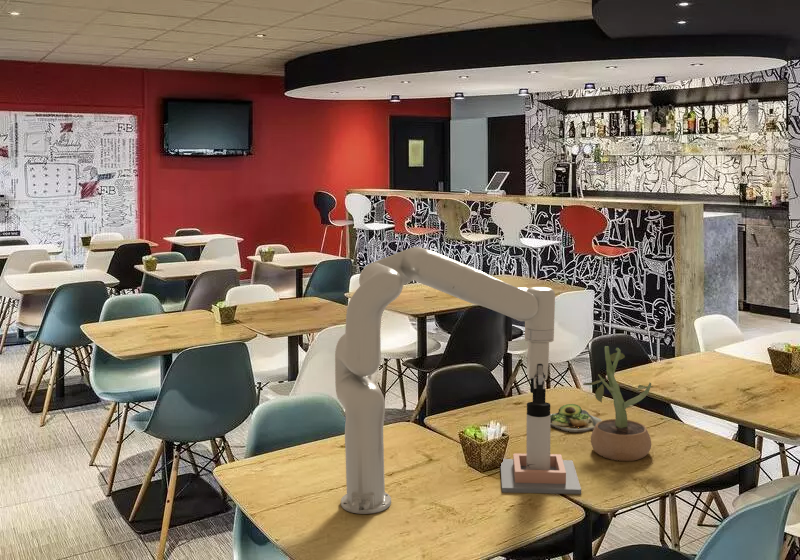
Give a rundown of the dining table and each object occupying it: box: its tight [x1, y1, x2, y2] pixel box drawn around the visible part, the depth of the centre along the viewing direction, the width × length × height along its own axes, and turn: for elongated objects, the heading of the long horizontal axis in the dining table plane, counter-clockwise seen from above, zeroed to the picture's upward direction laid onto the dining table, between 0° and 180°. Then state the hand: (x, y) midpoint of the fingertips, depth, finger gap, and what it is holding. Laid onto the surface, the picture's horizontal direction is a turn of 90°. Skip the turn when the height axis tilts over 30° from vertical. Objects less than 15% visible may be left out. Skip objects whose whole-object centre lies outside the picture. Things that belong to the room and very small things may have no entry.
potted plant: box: [582, 345, 654, 462], centre depth 228 cm, size 22×18×30 cm
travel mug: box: [526, 401, 552, 470], centre depth 208 cm, size 6×7×20 cm
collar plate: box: [500, 453, 582, 495], centre depth 210 cm, size 20×20×4 cm
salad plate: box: [550, 403, 603, 433], centre depth 252 cm, size 19×18×5 cm
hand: (537, 398), depth 207 cm, fingers open, 9 cm apart
